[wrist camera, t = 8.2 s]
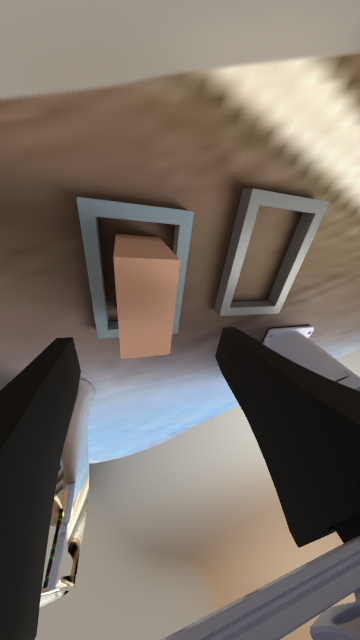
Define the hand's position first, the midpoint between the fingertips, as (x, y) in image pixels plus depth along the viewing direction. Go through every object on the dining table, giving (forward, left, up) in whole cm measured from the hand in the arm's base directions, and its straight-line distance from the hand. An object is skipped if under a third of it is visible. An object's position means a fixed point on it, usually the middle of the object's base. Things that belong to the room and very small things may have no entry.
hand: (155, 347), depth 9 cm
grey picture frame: (0, 0, -10) cm, 10 cm away
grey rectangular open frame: (+2, -12, -10) cm, 16 cm away
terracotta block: (0, 0, -10) cm, 10 cm away
